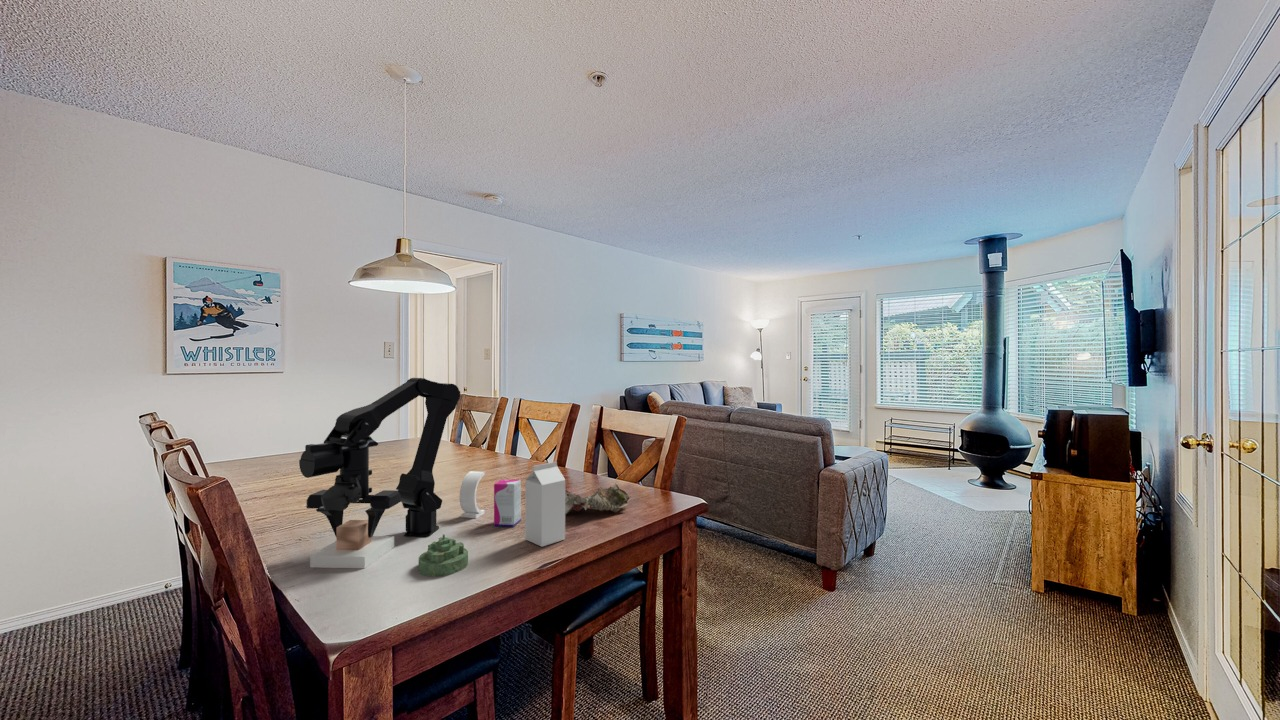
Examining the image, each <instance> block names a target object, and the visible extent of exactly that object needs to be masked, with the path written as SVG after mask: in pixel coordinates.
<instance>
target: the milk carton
mask: <svg viewBox="0 0 1280 720" xmlns="http://www.w3.org/2000/svg"><path fill="white" fill-rule="evenodd" d="M524 481H525V482H524V490H525V491H524V500H525V501H524V504H525V505H524V510H525V511H524V534H525V535H524V540H525V541H528V542H530V543H533V544H535V545H536V546H540V547H546V546H549V545H552V544H555V543H557V542H561V541H563V540H565V539H566V515H565V490H566V478H565V477H564V475H563V474H562V472H561V470H560V469H559V467H558V462H557V461H554V462H552V461H551V462H548V463H542V464H537V465H533V467H532V471H531V472H530V473H529V474H528V476H527V477H526V478H525V480H524Z"/></svg>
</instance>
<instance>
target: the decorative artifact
mask: <svg viewBox="0 0 1280 720" xmlns="http://www.w3.org/2000/svg"><path fill="white" fill-rule="evenodd" d="M464 545H465V544H464V542H461V541H460V542H457V541H456V539H454V538H449V537H446V534H444V533H443V534H442V536H441V537H439V538H438V541H433V542H431V543H430V544H428V545H427V550H426V551H424V552H423V553H421V554H420V555H419V556H418V572H419V574H421V575H423V576H427V577H443V576H448V575H453V574H456V573H459V572H460V571H462V570H464V569H465V568H467V566H468V565H469V550H468V549H467V548H465V546H464Z"/></svg>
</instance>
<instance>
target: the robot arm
mask: <svg viewBox="0 0 1280 720" xmlns="http://www.w3.org/2000/svg"><path fill="white" fill-rule="evenodd" d="M418 397H421V398H425V402H424V404H425V409H426V412H427V414H426V418H425V422H424V426H423V430H422V433H421V436H420V439H419V443H418V447H417V450H416V453H415V455H414V456H415V457H414V460H413V463H412V467H411V469H409V471H408V472H407V473H401V474H400V475H399V476H400V477H399V481H398V485H397V486H396V488H395V489H394V490H391V489H390V490H387V489H386V490H385V489H383V490H381V491H379V492H377V493H375V494H371V493H372V492H373V487H370V486H369V485H370V476H371V475H372V474H373V470H372V469H370V466H369V465H370V461H369V460H370V456H369V455H370V453H369V452H370V448H372V447H377V446H379V442H377V441H375V440H374V439H373V438H372V436H371V435H372V434H374V432H376V431H377V429H379V427H380V426H381V423H382V422H383V421H384V420H385V419H386V418H387V417H389V416H390V415H392V414H394V413H395V412H397V411H398V410H400V409H401V408H402V407H404V406H406V405H407V404H409V403H411V401H413V400H415V399H416V398H418ZM460 398H461V390H460V389H459V387H458V386H457V385H456V384H454V383H443V382H442V383H441V382H437V381H432V380H430V379H427V378H425V377H410V378H409V379H407V380H406V381H405V382H404V383H403V384H401V385H399V386H397V387H396V388H394V389H393V390H391V391H389V392H388V393H387V394H385V395H383V396H381V397H380V398H378V399H376V400H375V401H373V402H372V403H369V404H367V405H365V406H360V407H357V408H354V409H351V410H348V411H345V412H344V413H342V414H340V415H339V416H337V418H336V419H335V425H334V426H333V428H332V429H331V431H330V432H329V434H328V435H327V437H326V438H325V439H324V440H323V442H322V443H318V444H316V443H315V444H314V443H310V444H306V445H305V446H304V447H305V449H304V451H303V452H302V454H301V455H300V459H299V462H298V463H299V470H300V472H301V474H302V476H303V477H305V478H307V479H309V478H314V477H318V476H319V477H320V476H323V475H329V474H334V473H337V472H338V471H339V474H336V475H335V478H334V485H332V486H330V487H329V488H328V489H321V490H319V491H316V492H314V493H311V494H310V495H308V496H307V499H306V502H305V503H306V504H305V505H306V509H315V510H316V513H317V512H318V513H321V514H323V515H324V516H325V517H326V519H327V520H328V523H330V527H331V529H332V531H333V534H334V536H335V537H336V527H338V526H340V525H342V524H344V523H343V519H344V510H346V509H347V508H348V507H349V505H350V504H369V505H370V507H369V508H367V509H366V510H365V513H366V515H367V517H368V518H367V520H368V537H369V538H371V537H372V536H374V533H375V532H376V529H377V527H378V525H379V522H380V520H381V519H382V516H383V515H384V513H385V511H386V510H388V509H390V508H392V507H394V506H396V505H398V504H400V503H401V504H402V507H403V509H407V512H406V513H407V514H406V515H405V533H403V536H405V537H430V536H431V535H432V534H434V533H435V532H436V531H437V530H438V529H440V526H439V525H437V511H438V510H440V509H441V507H442V504H443V499H442V498H440V497H439V496H438V494H436V493H435V492H434V491H435V484H436V482H435V479H434V474H433V469H434V465H435V463H436V459H437V456H438V451H439V448H440V444H441V440H442V437H443V433H444V429H445V426H446V423H447V419H448V417H449V416H450V415H451V414H452V413H453V412H454V411H455V409H456V408H457V406H458V403H459V401H460Z"/></svg>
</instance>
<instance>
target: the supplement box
mask: <svg viewBox="0 0 1280 720" xmlns="http://www.w3.org/2000/svg"><path fill="white" fill-rule="evenodd" d="M521 485H522V480H521V479H501V480H498V481H497V482H495V483H494V484H493V488H494V489H493V526H494V527H506V528H507V527H509V528H510V527H511V528H513V527H515V526H517V524H519V523H520V521H522V486H521Z"/></svg>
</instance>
